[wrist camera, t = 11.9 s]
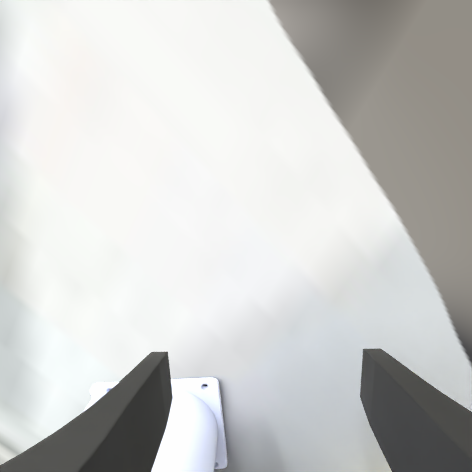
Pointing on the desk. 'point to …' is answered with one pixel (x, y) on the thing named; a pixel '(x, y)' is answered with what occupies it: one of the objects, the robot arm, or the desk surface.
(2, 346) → the desk surface
